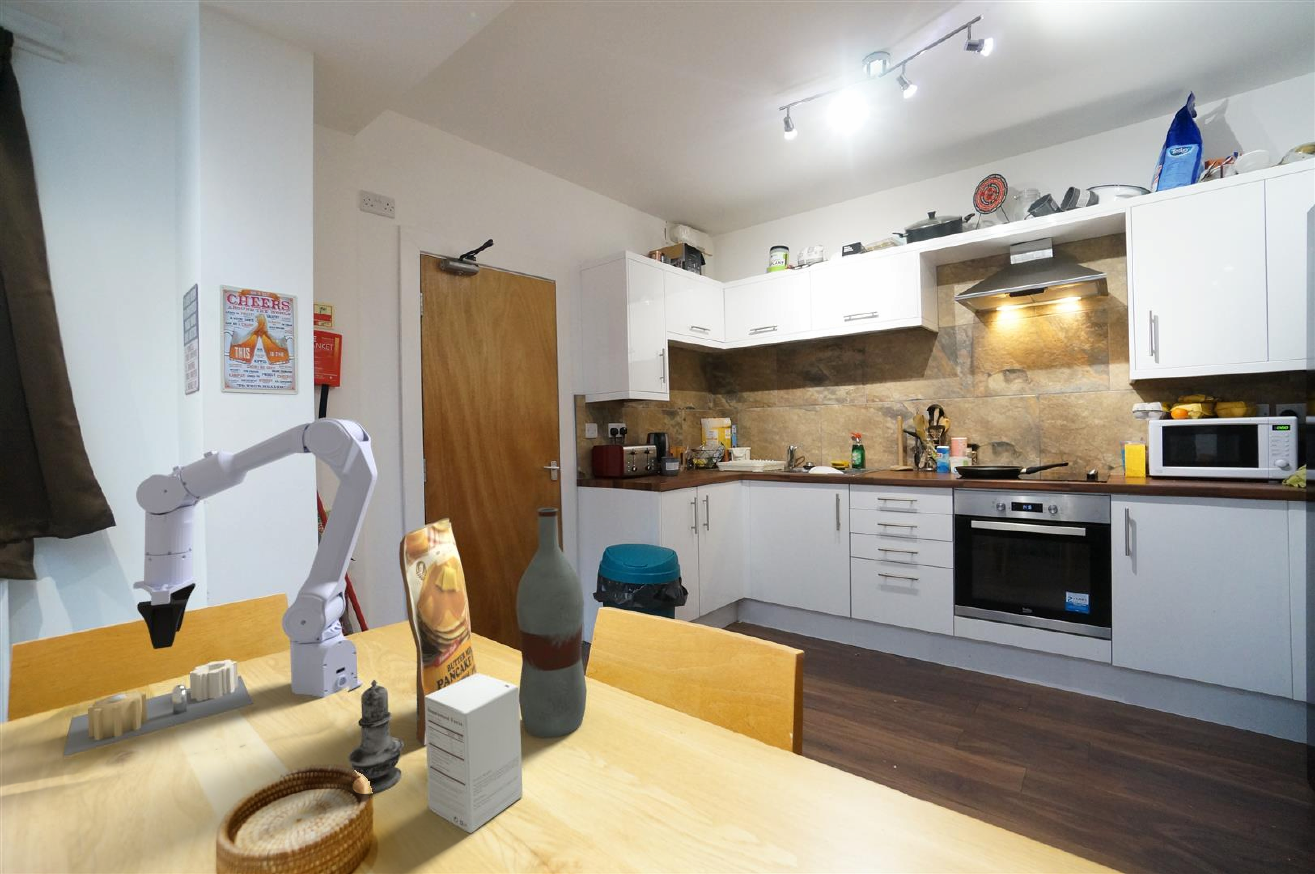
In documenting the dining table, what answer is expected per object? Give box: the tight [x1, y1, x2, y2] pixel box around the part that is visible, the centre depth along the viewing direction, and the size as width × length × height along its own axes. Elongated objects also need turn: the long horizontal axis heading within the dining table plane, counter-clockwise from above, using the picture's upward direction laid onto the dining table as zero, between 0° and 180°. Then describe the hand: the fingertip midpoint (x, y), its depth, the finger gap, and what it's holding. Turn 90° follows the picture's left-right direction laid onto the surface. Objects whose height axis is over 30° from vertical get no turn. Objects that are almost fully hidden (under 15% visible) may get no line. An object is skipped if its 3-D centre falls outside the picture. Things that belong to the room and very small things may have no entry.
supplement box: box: [425, 672, 524, 834], centre depth 63 cm, size 7×7×13 cm
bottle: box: [515, 507, 588, 739], centre depth 81 cm, size 9×9×30 cm
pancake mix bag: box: [398, 517, 478, 747], centre depth 83 cm, size 7×19×28 cm, turn 174°
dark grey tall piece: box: [348, 679, 404, 795], centre depth 68 cm, size 6×6×12 cm
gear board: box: [62, 675, 254, 757], centre depth 85 cm, size 20×14×6 cm
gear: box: [189, 659, 239, 701], centre depth 91 cm, size 6×6×4 cm
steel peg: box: [171, 684, 187, 715], centre depth 85 cm, size 2×2×4 cm
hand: (167, 639), depth 89 cm, fingers open, 7 cm apart
